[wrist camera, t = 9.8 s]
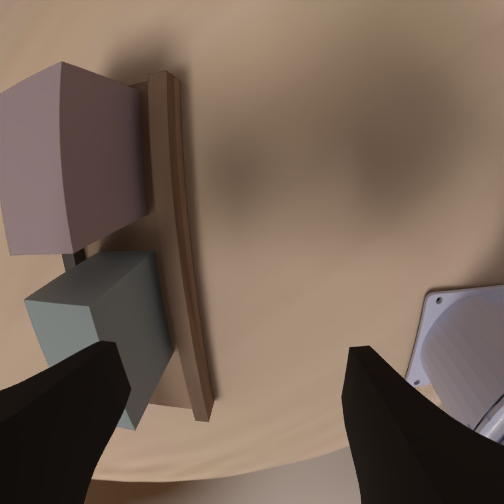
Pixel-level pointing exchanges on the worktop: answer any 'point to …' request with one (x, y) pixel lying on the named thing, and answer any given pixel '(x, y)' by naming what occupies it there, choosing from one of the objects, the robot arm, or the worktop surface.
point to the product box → (108, 319)
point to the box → (69, 160)
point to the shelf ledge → (166, 246)
